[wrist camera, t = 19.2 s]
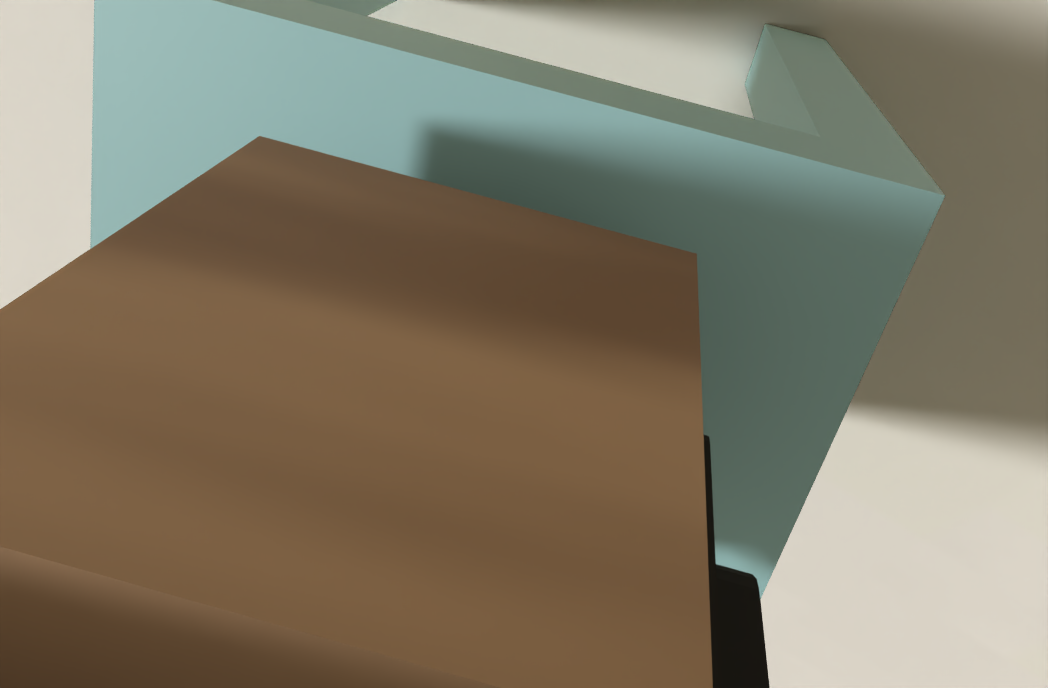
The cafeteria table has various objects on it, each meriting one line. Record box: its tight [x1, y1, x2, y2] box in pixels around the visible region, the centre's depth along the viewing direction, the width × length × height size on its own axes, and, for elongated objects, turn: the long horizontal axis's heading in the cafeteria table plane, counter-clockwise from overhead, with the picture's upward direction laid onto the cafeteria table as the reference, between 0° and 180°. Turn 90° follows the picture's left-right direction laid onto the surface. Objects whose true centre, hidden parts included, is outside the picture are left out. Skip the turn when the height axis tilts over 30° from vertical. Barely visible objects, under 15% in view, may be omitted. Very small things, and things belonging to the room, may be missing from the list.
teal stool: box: [91, 0, 945, 599], centre depth 17 cm, size 8×9×10 cm
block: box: [0, 136, 713, 688], centre depth 8 cm, size 4×4×6 cm
